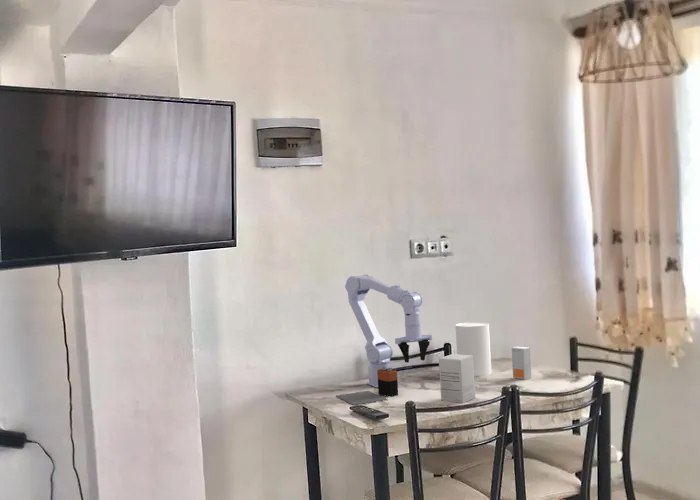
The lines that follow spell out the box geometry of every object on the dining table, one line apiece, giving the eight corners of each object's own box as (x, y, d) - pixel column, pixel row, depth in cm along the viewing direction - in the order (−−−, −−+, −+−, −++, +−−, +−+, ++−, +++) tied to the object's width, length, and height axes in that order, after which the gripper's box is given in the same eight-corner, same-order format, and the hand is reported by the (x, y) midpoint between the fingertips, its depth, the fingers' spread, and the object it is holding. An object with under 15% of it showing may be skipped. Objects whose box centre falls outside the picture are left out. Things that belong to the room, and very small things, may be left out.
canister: (451, 372, 299) (449, 324, 299) (478, 368, 305) (476, 321, 304) (470, 377, 287) (467, 327, 286) (498, 373, 293) (495, 324, 292)
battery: (389, 397, 261) (388, 369, 261) (377, 394, 266) (376, 367, 266) (398, 395, 263) (397, 367, 263) (387, 392, 269) (385, 365, 269)
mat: (336, 396, 267) (336, 395, 267) (368, 391, 272) (368, 390, 272) (353, 405, 251) (353, 404, 251) (387, 400, 256) (387, 399, 256)
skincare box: (512, 378, 282) (510, 347, 282) (519, 376, 284) (518, 345, 284) (524, 380, 277) (523, 348, 277) (532, 378, 280) (530, 347, 279)
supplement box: (453, 395, 258) (451, 353, 258) (476, 397, 252) (473, 355, 252) (440, 400, 251) (437, 357, 251) (462, 403, 245) (460, 359, 245)
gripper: (400, 328, 266) (402, 364, 266) (434, 324, 271) (436, 360, 271) (391, 326, 272) (393, 362, 272) (426, 322, 277) (428, 357, 278)
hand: (414, 361), depth 272 cm, fingers open, 6 cm apart
